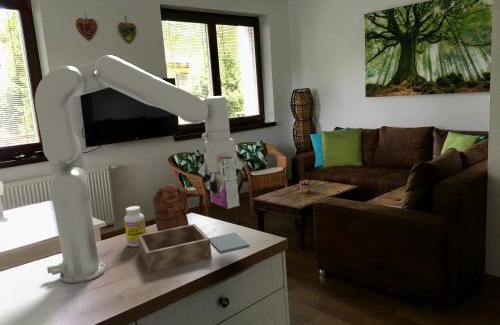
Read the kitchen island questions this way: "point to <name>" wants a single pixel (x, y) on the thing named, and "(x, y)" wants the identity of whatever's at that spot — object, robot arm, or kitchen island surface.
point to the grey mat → (228, 242)
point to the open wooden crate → (174, 247)
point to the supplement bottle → (134, 225)
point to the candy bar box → (226, 183)
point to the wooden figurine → (170, 207)
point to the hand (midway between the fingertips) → (223, 190)
